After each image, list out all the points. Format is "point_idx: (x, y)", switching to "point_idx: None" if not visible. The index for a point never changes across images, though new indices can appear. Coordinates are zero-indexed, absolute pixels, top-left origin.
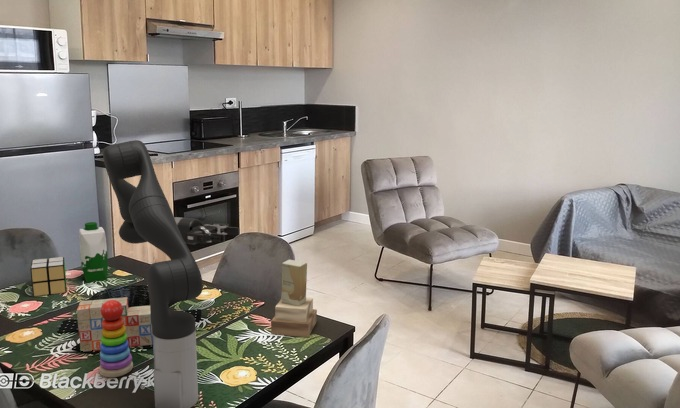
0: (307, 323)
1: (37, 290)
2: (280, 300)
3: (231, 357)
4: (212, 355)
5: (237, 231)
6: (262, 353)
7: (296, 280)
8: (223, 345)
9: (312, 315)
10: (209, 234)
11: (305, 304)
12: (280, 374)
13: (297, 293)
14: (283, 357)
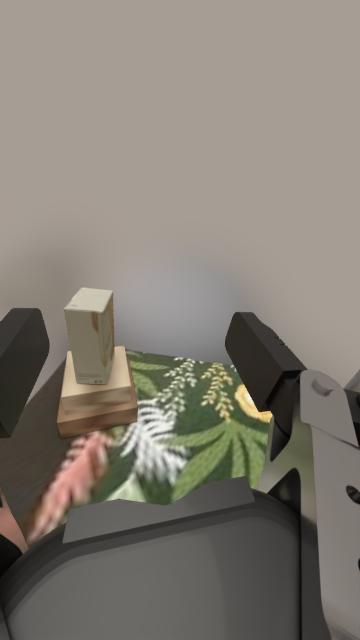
0: (126, 359)
1: None
2: (93, 391)
3: (237, 434)
4: (256, 468)
5: (41, 329)
6: (199, 401)
7: (112, 321)
8: (217, 476)
9: None
10: (325, 379)
11: None
12: (225, 365)
13: (113, 340)
14: (193, 376)
